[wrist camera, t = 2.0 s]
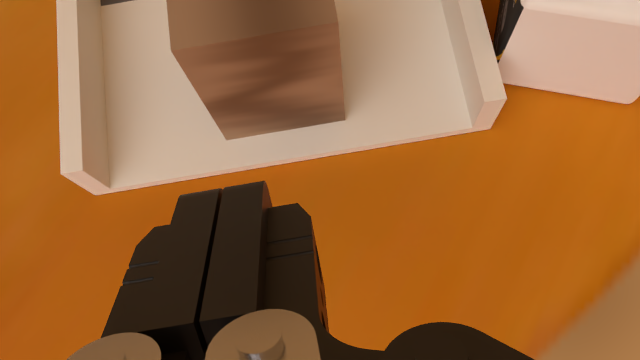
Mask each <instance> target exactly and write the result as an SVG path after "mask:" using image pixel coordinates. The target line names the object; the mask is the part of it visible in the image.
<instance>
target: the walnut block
mask: <svg viewBox="0 0 640 360" xmlns="http://www.w3.org/2000/svg"><path fill="white" fill-rule="evenodd" d="M166 2H167V13H168V25H169V36H170V47H171V52H172V54H173V55H174V57H175V58H176V60H177V62H178V63H179V65H180V66H181V68H182V70H183V71H184V73H185V74H186V76H187V78H188V79H189V81H190V83H191V84H192V86H193V87H194V89H195V91H196V92H197V94H198V95H199V97H200V99H201V100H202V102H203V103H204V105H205V107H206V108H207V110H208V111H209V113H210V115H211V116H212V118H213V120H214V121H215V123H216V124H217V126H218V128H219V129H220V131H221V132H222V134H223V136H224V137H225V139H226V140H232V139H238V138H244V137H250V136H256V135H262V134H267V133H273V132H279V131H285V130H291V129H297V128H303V127H309V126H315V125H321V124H326V123H332V122H338V121H344V120H345V107H344V93H343V79H342V66H341V52H340V38H339V24H338V17H337V12H336V7H335V1H334V0H166Z"/></svg>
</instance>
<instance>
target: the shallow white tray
mask: <svg viewBox="0 0 640 360" xmlns="http://www.w3.org/2000/svg"><path fill="white" fill-rule="evenodd" d="M334 1H335V7H336V12H337V17H338V24H339V38H340V52H341V66H342V79H343V93H344V107H345V120H344V121H338V122H332V123H326V124H321V125H315V126H309V127H303V128H297V129H291V130H285V131H279V132H273V133H267V134H262V135H256V136H250V137H244V138H238V139H232V140H226V139H225V137H224V136H223V134H222V132H221V131H220V129H219V128H218V126H217V124H216V123H215V121H214V120H213V118H212V116H211V115H210V113H209V111H208V110H207V108H206V107H205V105H204V103H203V102H202V100H201V99H200V97H199V95H198V94H197V92H196V91H195V89H194V87H193V86H192V84H191V83H190V81H189V79H188V78H187V76H186V74H185V73H184V71H183V70H182V68H181V66H180V65H179V63H178V62H177V60H176V58H175V57H174V55H173V54H172V52H171V47H170V36H169V25H168V13H167V2H166V0H133V1H128V2H122V3H116V4H110V5H105V6H101V2H100V0H56V4H57V46H58V87H59V128H60V169H61V175H63V176H65V177H66V178H68V179H69V180H71V181H73V182H74V183H76V184H78V185H79V186H81V187H82V188H84V189H86V190H87V191H89V192H91V193H92V194H94V195H101V194H107V193H113V192H119V191H125V190H131V189H137V188H142V187H148V186H154V185H160V184H166V183H172V182H178V181H184V180H190V179H196V178H202V177H208V176H214V175H220V174H226V173H232V172H237V171H243V170H249V169H255V168H261V167H267V166H273V165H279V164H285V163H291V162H297V161H303V160H309V159H315V158H321V157H327V156H333V155H338V154H344V153H350V152H356V151H362V150H368V149H374V148H380V147H386V146H392V145H398V144H404V143H410V142H416V141H422V140H428V139H433V138H439V137H445V136H451V135H457V134H463V133H469V132H475V131H481V130H487V129H491V127H492V125H493V123H494V121H495V119H496V118H497V116H498V114H499V112H500V110H501V109H502V107H503V105H504V103H505V101H506V100H507V96H506V93H505V89H504V85H503V82H502V78H501V74H500V71H499V67H498V63H497V59H496V56H495V52H494V48H493V45H492V41H491V37H490V34H489V30H488V26H487V23H486V19H485V15H484V12H483V8H482V4H481V0H334Z"/></svg>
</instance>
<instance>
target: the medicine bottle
mask: <svg viewBox="0 0 640 360" xmlns="http://www.w3.org/2000/svg"><path fill="white" fill-rule="evenodd" d="M493 48H494V52H495V56H496V59H497V63H498V67H499V71H500V74H501V78H502V82H503V83H505V84H511V85H516V86H522V87H528V88H534V89H540V90H546V91H552V92H557V93H563V94H569V95H575V96H581V97H587V98H592V99H598V100H604V101H610V102H616V103H622V104H630V103H632V102H634V101H635V100H636V99H637V98H638V97H639V96H640V0H500V5H499V11H498V17H497V23H496V29H495V35H494V41H493Z"/></svg>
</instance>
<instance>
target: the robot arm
mask: <svg viewBox="0 0 640 360" xmlns="http://www.w3.org/2000/svg"><path fill="white" fill-rule="evenodd" d="M67 360H534V359H532V358H530V357H528V356H526V355H525V354H523V353H521V352H519V351H517V350H515V349H513V348H511V347H509V346H507V345H506V344H504V343H502V342H500V341H498V340H496V339H494V338H492V337H490V336H488V335H486V334H485V333H483V332H481V331H479V330H476V329H474V328H472V327H469V326H465V325H462V324H457V323H449V322H436V323H428V324H423V325H419V326H416V327H413V328H411V329H409V330H407V331H405V332H403V333H401V334H400V335H399V336H397V337H396V338H395V339H394V340H393V341H392V342H391V343H390V344H389V345H388V347H387V348H386V349H385V351H379V350H369V349H362V348H357V347H354V346H350V345H347V344H345V343H343V342H341V341H339V340H337V339H336V338H334V337H333V336H332V335H331V334H329V328H328V318H327V309H326V299H325V289H324V282H323V277H322V272H321V267H320V262H319V257H318V252H317V246H316V241H315V236H314V231H313V226H312V221H311V216H310V215H309V214H308V213H307V212H306V211H305V210H304V209H303V208H302V207H301V206H300V205H299V204H298V203H295V204H289V205H283V206H277V207H272V203H271V199H270V195H269V191H268V187H267V184H266V182H265V181H261V182H255V183H249V184H243V185H237V186H231V187H225V188H224V189H221V188H220V189H214V190H208V191H202V192H196V193H190V194H184V195H180V196H179V198H178V201H177V204H176V208H175V211H174V214H173V217H172V220H171V224H170V225H164V226H158V227H154V228H153V229H152V230H151V231H150V232H149V233H148V234H147V235H146V236H145V237H144V238H143V239H142V240H141V241H140V243H139V244H138V245H137V246H136V248H135V250H134V253H133V256H132V258H131V261H130V263H129V269H127V271H126V274H125V276H124V279H123V286H121V287H120V289H119V292H118V295H117V297H116V300H115V302H114V305H113V308H112V310H111V313H110V315H109V318H108V321H107V323H106V326H105V328H104V331H103V334H102V336H101V339H98V340H95V341H93V342H92V343H90V344H88V345H86V346H84V347H83V348H81V349H79V350H78V351H76V352H75V353H74V354H73V355H71V356H70V357H69V358H68V359H67Z"/></svg>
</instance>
